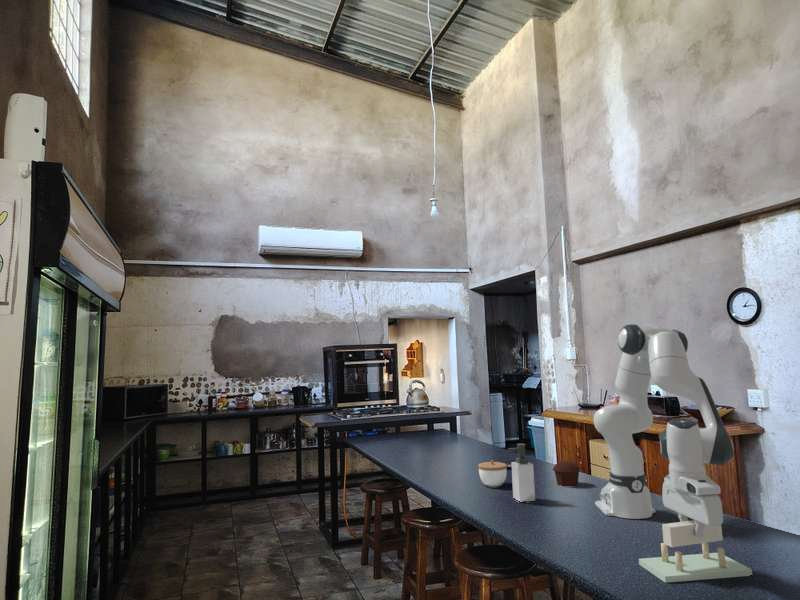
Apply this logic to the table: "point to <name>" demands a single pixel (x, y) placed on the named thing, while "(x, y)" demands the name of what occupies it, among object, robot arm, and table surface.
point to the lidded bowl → (492, 473)
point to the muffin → (566, 473)
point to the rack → (693, 565)
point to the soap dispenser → (522, 476)
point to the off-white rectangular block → (689, 534)
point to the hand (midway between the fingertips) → (692, 533)
